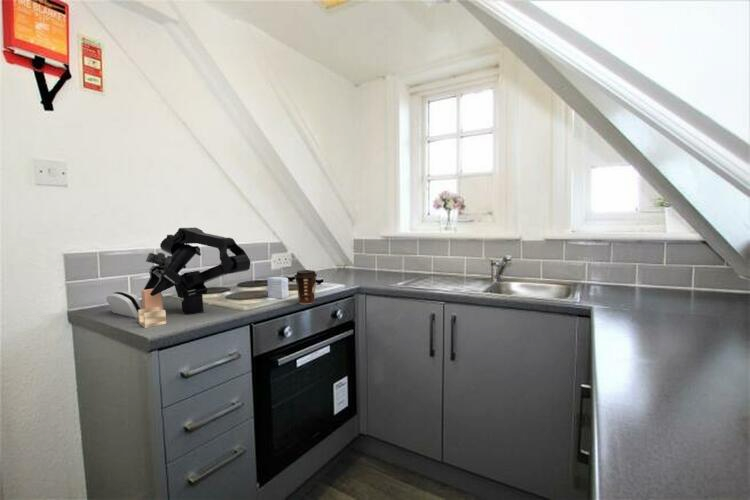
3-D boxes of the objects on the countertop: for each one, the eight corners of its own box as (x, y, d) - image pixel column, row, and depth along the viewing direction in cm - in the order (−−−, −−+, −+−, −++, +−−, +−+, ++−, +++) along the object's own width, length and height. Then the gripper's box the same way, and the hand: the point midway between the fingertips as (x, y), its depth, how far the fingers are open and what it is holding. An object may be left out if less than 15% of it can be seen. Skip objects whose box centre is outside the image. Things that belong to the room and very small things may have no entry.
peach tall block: (160, 315, 129) (158, 287, 128) (164, 317, 126) (162, 289, 125) (143, 318, 125) (141, 290, 124) (146, 320, 122) (144, 291, 121)
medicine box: (288, 297, 156) (288, 277, 156) (282, 299, 152) (281, 279, 152) (274, 295, 160) (274, 276, 159) (267, 297, 156) (267, 278, 155)
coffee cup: (312, 299, 151) (312, 269, 150) (321, 303, 144) (320, 271, 143) (293, 302, 146) (292, 270, 145) (300, 306, 140) (299, 273, 138)
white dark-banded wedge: (151, 314, 130) (139, 290, 126) (138, 322, 126) (126, 297, 122) (126, 309, 138) (115, 286, 134) (114, 316, 134) (101, 293, 131)
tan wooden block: (159, 319, 123) (158, 306, 123) (166, 323, 118) (165, 310, 118) (138, 323, 119) (137, 309, 118) (145, 327, 114) (144, 313, 113)
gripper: (153, 243, 133) (120, 277, 126) (169, 245, 120) (133, 282, 113) (178, 262, 139) (147, 295, 132) (195, 265, 126) (163, 302, 119)
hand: (147, 293), depth 124 cm, fingers open, 9 cm apart
